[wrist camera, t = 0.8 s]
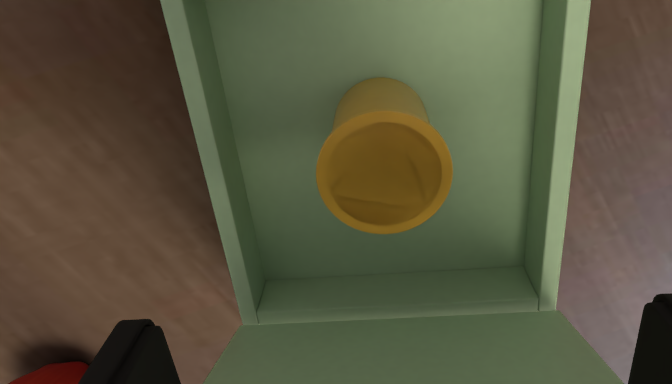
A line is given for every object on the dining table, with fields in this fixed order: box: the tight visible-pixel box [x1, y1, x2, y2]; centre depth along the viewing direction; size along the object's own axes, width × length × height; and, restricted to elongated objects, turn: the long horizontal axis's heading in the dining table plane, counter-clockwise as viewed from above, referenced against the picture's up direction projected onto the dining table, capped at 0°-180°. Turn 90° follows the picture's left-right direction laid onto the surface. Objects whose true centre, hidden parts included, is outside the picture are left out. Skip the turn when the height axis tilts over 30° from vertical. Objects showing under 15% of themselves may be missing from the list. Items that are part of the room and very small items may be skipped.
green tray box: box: [160, 0, 591, 325], centre depth 21 cm, size 16×15×3 cm
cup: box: [316, 77, 453, 234], centre depth 19 cm, size 5×5×5 cm
